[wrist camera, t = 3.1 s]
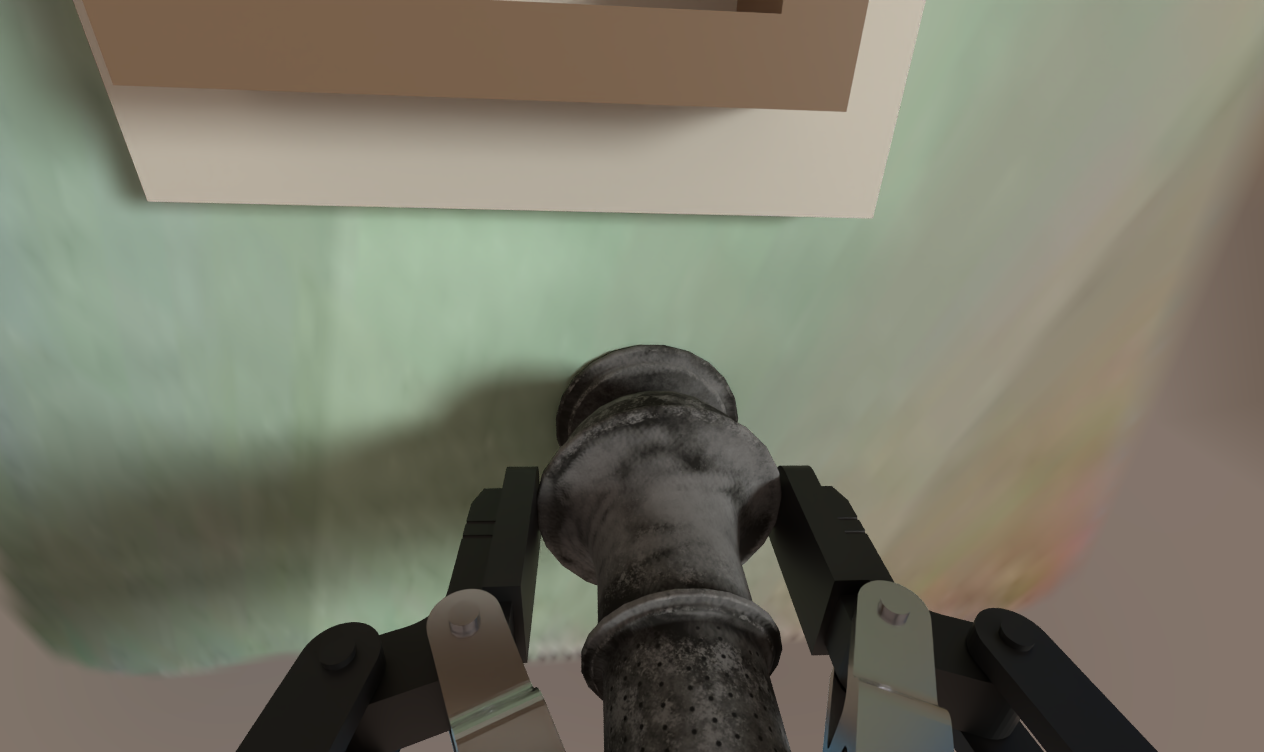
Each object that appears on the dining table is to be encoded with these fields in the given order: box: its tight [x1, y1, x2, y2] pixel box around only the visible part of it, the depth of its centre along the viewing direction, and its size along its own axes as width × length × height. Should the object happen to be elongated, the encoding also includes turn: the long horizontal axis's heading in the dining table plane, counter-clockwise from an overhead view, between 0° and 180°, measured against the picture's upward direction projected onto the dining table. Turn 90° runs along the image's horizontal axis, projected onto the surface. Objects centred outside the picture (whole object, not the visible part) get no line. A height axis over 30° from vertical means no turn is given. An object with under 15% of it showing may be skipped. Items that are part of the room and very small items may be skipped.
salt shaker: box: [537, 345, 791, 752], centre depth 11 cm, size 6×6×12 cm
